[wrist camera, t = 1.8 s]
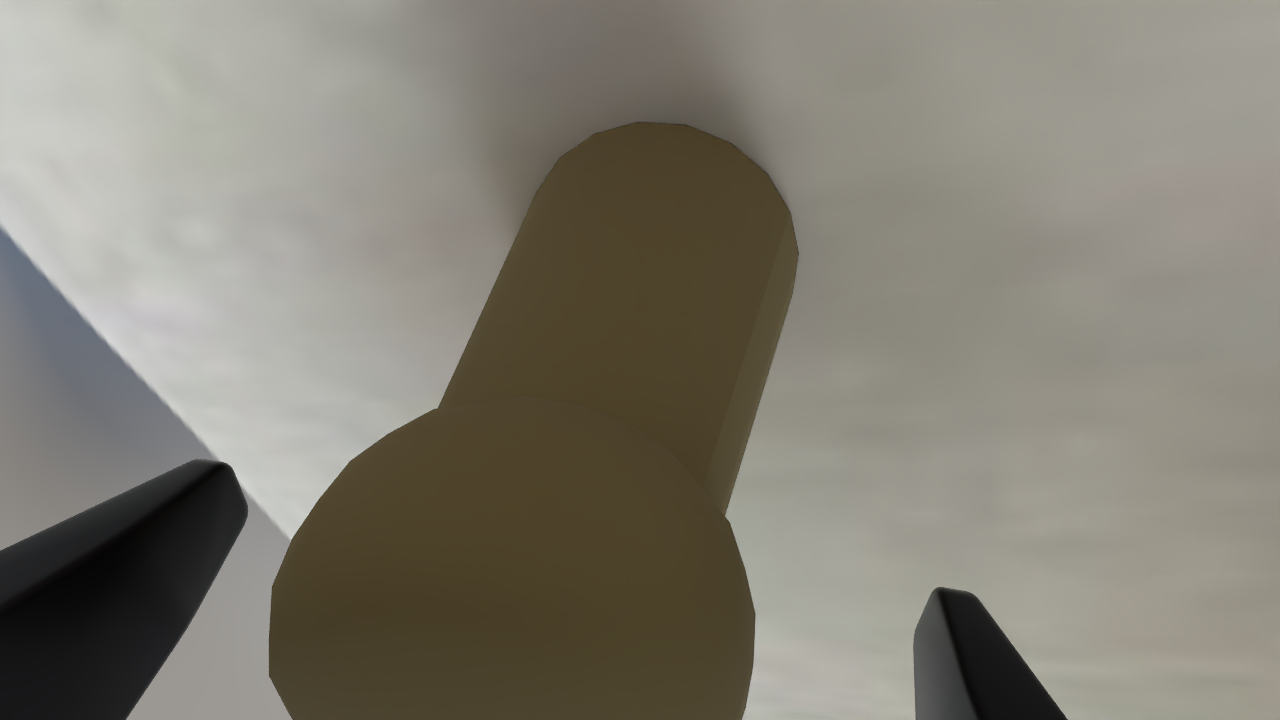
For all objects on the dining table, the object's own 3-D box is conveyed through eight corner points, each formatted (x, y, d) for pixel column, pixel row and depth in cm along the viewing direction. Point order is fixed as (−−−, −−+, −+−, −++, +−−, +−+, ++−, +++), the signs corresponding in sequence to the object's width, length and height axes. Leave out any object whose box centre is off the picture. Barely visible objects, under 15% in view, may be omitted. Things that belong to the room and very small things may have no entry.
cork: (557, 374, 18) (309, 875, 9) (496, 136, 14) (4, 546, 5) (801, 371, 16) (801, 966, 7) (795, 106, 13) (781, 597, 4)
